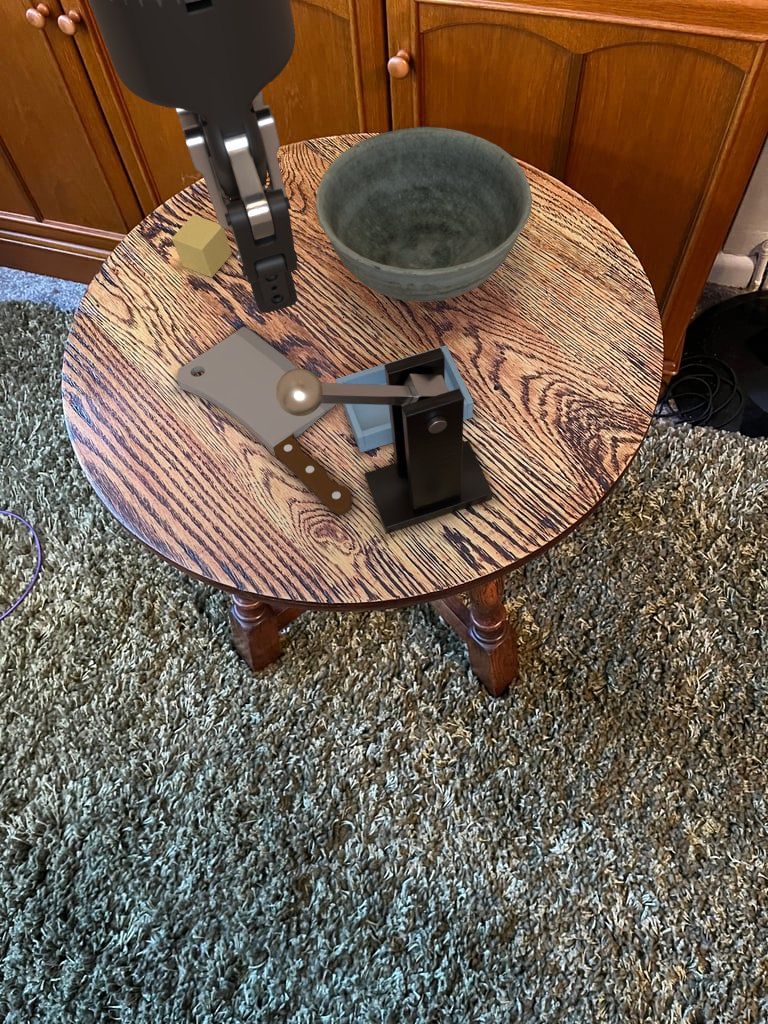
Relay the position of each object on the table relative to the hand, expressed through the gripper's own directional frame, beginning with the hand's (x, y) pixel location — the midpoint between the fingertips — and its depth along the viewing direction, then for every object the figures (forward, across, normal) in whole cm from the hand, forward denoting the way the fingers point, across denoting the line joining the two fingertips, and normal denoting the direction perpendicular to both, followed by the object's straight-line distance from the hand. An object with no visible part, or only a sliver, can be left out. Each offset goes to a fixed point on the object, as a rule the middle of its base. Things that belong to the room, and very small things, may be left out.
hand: (268, 278), depth 43 cm
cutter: (+29, 0, +9) cm, 30 cm away
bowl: (+29, -26, +18) cm, 43 cm away
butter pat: (+29, -36, -4) cm, 47 cm away
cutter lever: (+14, 0, +4) cm, 15 cm away
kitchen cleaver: (+29, -12, -2) cm, 32 cm away
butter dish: (+29, -10, +10) cm, 32 cm away
